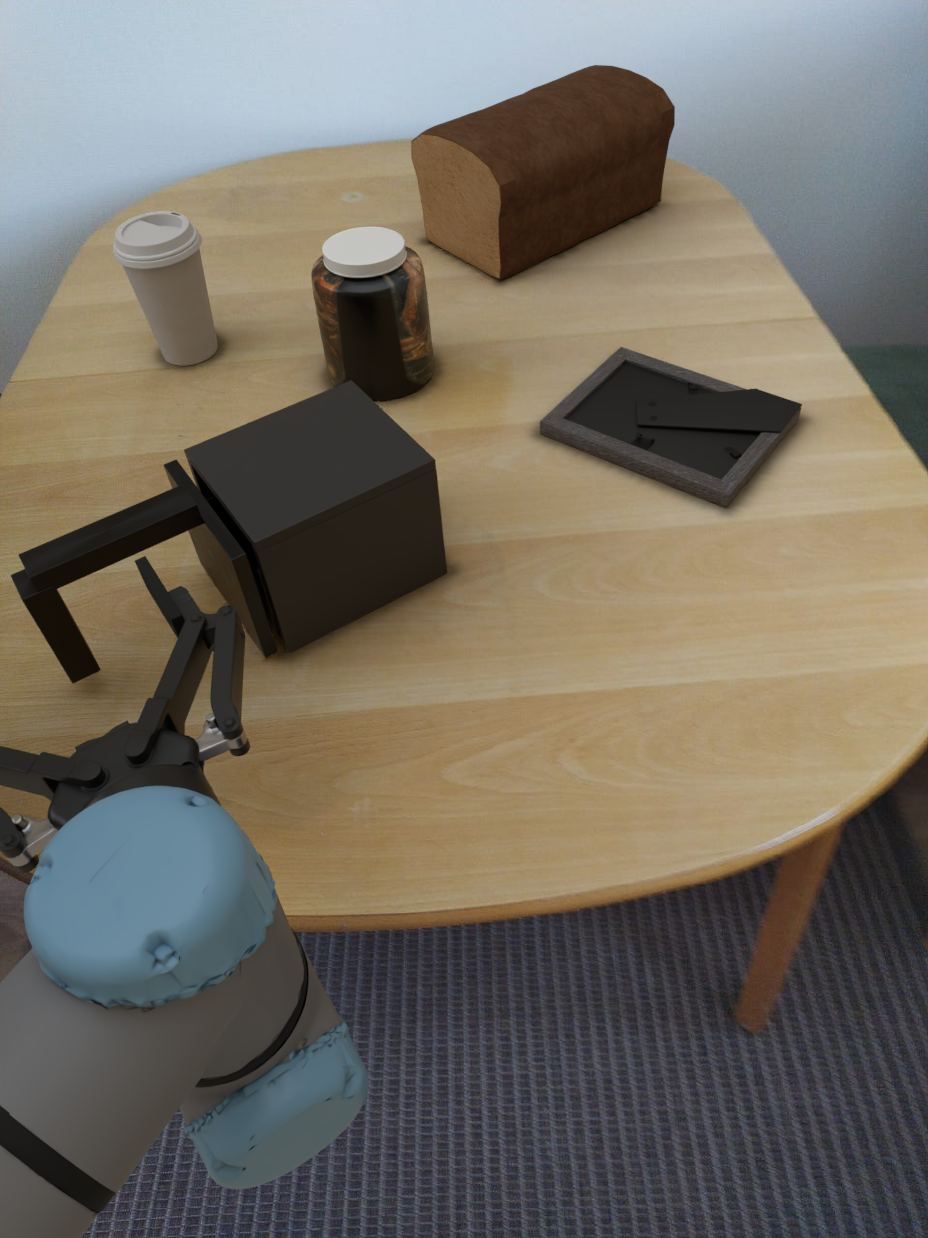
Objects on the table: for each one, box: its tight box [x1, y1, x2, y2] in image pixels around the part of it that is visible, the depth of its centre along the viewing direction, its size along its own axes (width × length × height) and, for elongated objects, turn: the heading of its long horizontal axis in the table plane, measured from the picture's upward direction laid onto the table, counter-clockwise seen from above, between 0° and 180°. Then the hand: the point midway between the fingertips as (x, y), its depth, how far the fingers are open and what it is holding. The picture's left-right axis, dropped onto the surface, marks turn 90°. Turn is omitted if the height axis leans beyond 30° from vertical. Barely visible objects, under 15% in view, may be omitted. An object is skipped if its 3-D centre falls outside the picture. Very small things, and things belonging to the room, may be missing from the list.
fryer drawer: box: [10, 459, 279, 684], centre depth 78 cm, size 30×14×13 cm, turn 123°
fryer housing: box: [183, 380, 448, 654], centre depth 82 cm, size 16×14×13 cm
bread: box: [410, 64, 676, 280], centre depth 122 cm, size 18×30×16 cm, turn 129°
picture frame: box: [539, 346, 803, 509], centre depth 96 cm, size 16×2×21 cm
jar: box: [310, 225, 435, 401], centre depth 101 cm, size 12×12×15 cm
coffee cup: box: [112, 210, 219, 367], centre depth 107 cm, size 10×10×15 cm
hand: (46, 617), depth 61 cm, fingers open, 13 cm apart
